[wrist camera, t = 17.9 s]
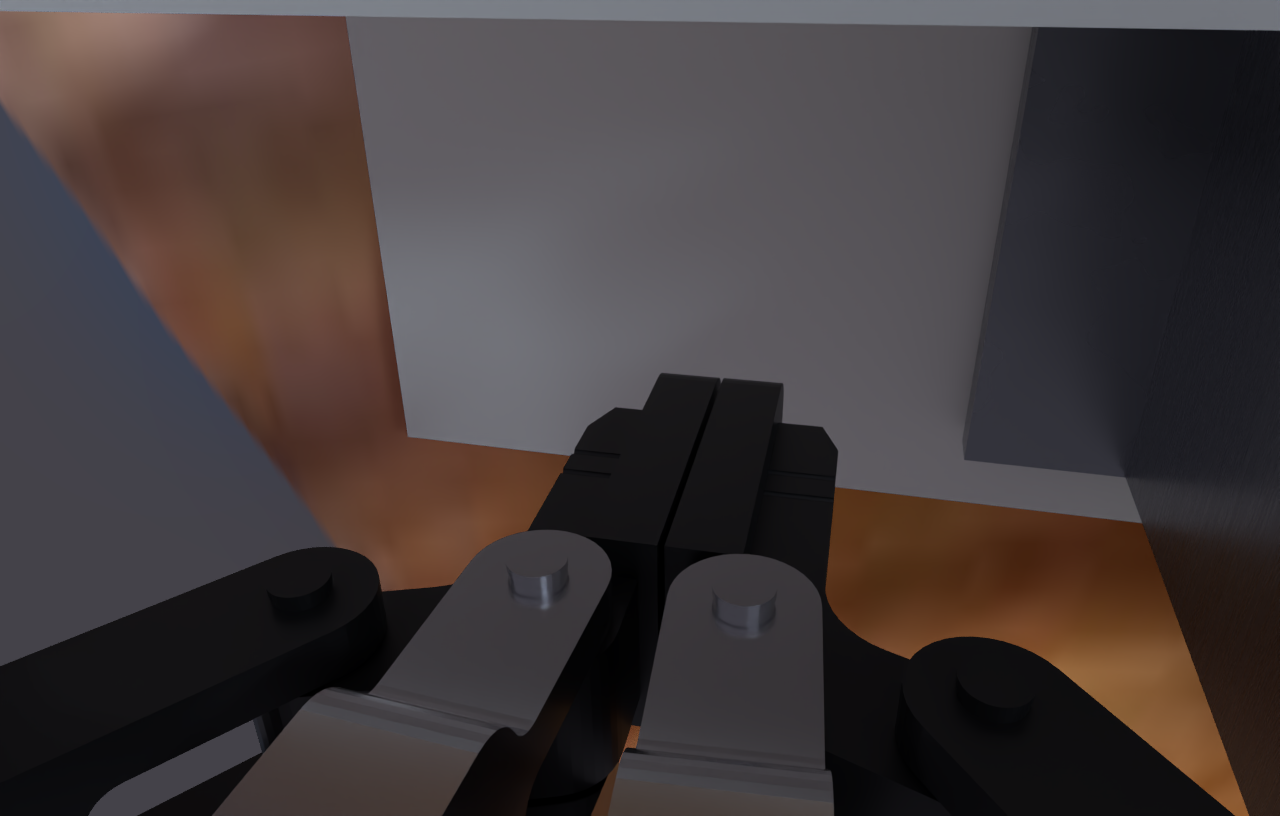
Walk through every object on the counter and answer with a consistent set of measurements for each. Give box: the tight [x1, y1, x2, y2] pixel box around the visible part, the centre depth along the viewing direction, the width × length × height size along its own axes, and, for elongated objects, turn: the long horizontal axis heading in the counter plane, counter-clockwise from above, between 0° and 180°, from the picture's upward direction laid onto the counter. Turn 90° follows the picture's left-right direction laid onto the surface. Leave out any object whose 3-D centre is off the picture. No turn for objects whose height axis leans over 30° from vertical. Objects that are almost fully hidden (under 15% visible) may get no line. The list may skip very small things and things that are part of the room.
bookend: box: [962, 27, 1280, 816], centre depth 12 cm, size 4×9×13 cm, turn 1°
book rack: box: [0, 0, 1280, 523], centre depth 13 cm, size 30×12×13 cm, turn 91°
